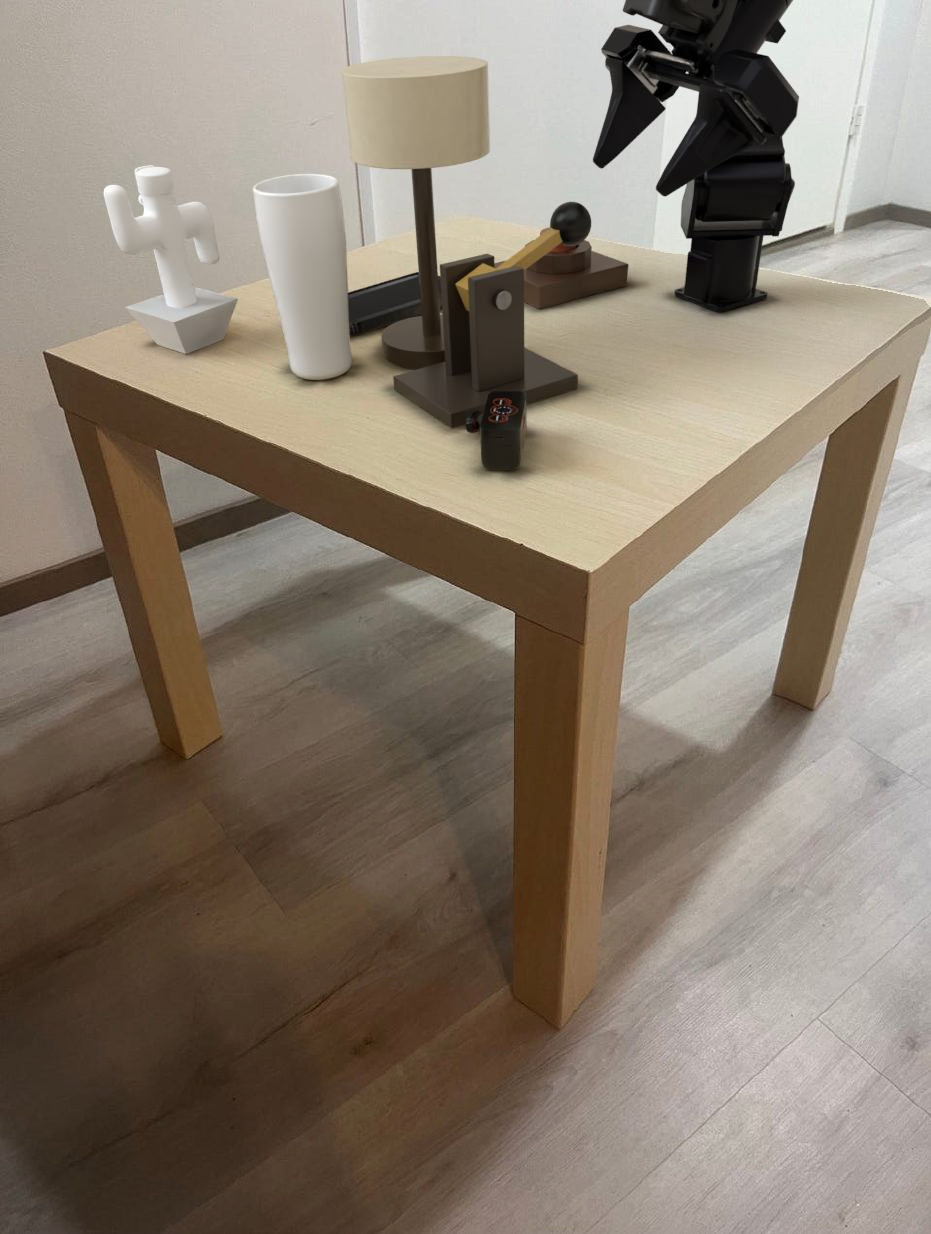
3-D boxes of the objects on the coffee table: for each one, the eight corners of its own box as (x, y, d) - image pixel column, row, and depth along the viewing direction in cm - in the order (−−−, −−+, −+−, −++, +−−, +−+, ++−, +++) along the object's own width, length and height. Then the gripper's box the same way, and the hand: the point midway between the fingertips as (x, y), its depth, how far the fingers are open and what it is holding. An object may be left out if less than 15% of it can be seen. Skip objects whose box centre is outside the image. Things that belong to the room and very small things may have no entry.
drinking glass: (328, 392, 77) (300, 198, 68) (266, 377, 80) (232, 189, 71) (376, 363, 81) (357, 177, 72) (316, 350, 84) (290, 170, 75)
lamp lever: (578, 227, 75) (567, 190, 73) (604, 235, 73) (593, 197, 70) (464, 312, 73) (449, 277, 71) (486, 324, 71) (472, 288, 69)
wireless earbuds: (528, 427, 70) (527, 386, 68) (520, 473, 64) (520, 430, 62) (466, 426, 71) (464, 386, 69) (453, 472, 65) (451, 429, 63)
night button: (561, 242, 96) (561, 224, 94) (583, 250, 93) (583, 231, 92) (532, 249, 94) (532, 230, 93) (554, 257, 92) (554, 238, 91)
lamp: (453, 319, 89) (439, 52, 76) (519, 353, 82) (516, 64, 68) (350, 346, 85) (317, 68, 72) (410, 385, 77) (385, 82, 64)
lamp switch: (514, 355, 82) (513, 238, 76) (577, 388, 75) (581, 264, 69) (394, 389, 77) (382, 268, 71) (451, 428, 70) (444, 299, 65)
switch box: (573, 265, 101) (574, 226, 99) (627, 285, 95) (629, 245, 92) (488, 286, 97) (487, 246, 94) (539, 309, 90) (539, 267, 88)
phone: (301, 306, 90) (422, 270, 98) (303, 318, 91) (423, 280, 98) (347, 326, 85) (471, 286, 93) (349, 338, 86) (472, 297, 93)
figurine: (254, 334, 88) (223, 161, 79) (172, 366, 83) (128, 184, 74) (206, 319, 92) (171, 153, 83) (125, 349, 86) (77, 175, 77)
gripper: (622, -99, 71) (504, 93, 75) (785, -91, 58) (630, 142, 62) (702, 3, 78) (590, 173, 83) (863, 32, 65) (719, 232, 69)
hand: (627, 178), depth 74 cm, fingers open, 9 cm apart
